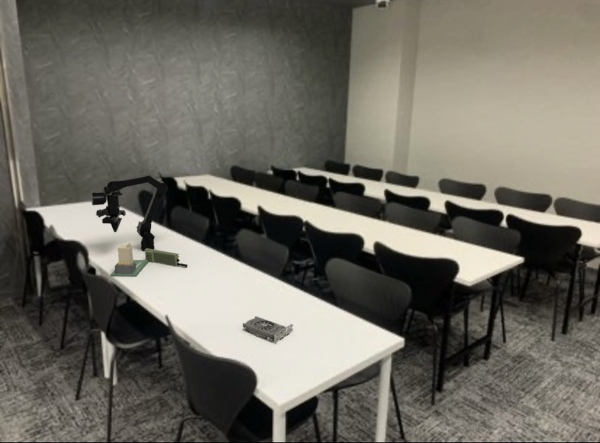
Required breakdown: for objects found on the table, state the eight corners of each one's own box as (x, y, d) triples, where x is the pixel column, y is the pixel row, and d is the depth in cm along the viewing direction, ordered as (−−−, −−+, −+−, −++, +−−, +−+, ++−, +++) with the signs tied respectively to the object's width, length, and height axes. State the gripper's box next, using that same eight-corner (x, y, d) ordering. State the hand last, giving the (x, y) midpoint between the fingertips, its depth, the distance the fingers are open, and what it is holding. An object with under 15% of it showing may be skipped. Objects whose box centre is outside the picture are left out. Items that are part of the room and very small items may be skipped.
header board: (125, 261, 236) (124, 249, 235) (148, 261, 237) (147, 250, 235) (110, 276, 217) (109, 263, 215) (136, 276, 217) (135, 263, 216)
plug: (123, 268, 224) (121, 242, 220) (133, 268, 224) (131, 242, 221) (119, 271, 219) (117, 245, 216) (130, 272, 219) (128, 246, 216)
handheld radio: (149, 259, 241) (189, 266, 232) (144, 261, 238) (185, 269, 229) (147, 247, 239) (188, 254, 230) (143, 249, 236) (184, 256, 227)
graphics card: (295, 323, 171) (276, 335, 161) (295, 333, 172) (275, 345, 162) (260, 311, 180) (239, 322, 170) (260, 320, 181) (239, 331, 171)
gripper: (104, 199, 249) (106, 227, 253) (90, 207, 231) (93, 237, 235) (125, 200, 249) (126, 227, 253) (113, 208, 231) (115, 237, 235)
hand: (115, 232), depth 244 cm, fingers closed
